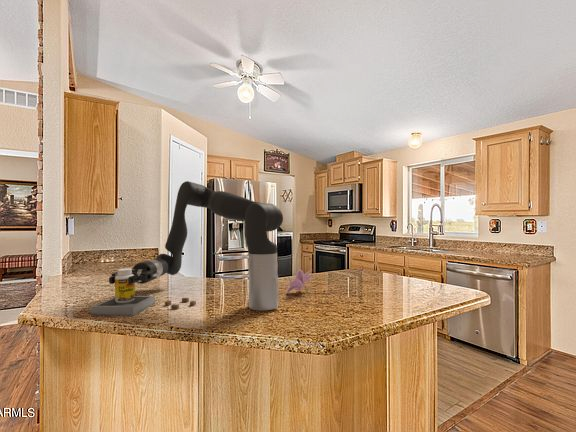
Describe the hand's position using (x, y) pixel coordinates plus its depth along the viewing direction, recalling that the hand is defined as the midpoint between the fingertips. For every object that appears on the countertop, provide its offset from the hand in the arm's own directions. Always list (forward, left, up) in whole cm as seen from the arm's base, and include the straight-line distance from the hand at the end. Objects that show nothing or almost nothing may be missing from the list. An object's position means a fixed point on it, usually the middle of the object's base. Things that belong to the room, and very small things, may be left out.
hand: (120, 280), depth 95 cm
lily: (-56, -24, -10) cm, 61 cm away
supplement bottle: (0, -3, -7) cm, 8 cm away
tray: (0, -2, -10) cm, 10 cm away
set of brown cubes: (-16, -7, -10) cm, 20 cm away
